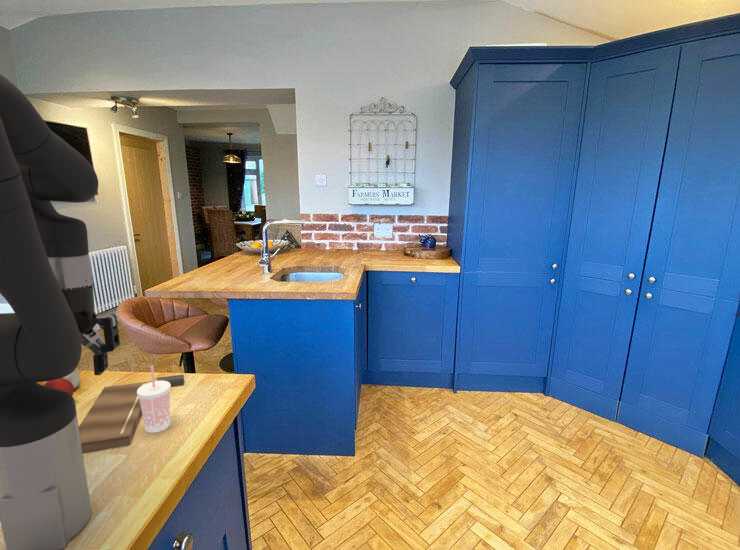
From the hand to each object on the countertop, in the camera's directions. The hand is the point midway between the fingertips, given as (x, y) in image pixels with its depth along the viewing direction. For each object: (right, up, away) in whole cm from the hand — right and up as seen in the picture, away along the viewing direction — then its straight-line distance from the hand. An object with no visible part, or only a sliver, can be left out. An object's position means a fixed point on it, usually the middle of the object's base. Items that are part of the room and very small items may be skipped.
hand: (71, 374), depth 61 cm
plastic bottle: (-24, -12, +27) cm, 38 cm away
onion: (-20, -13, +20) cm, 31 cm away
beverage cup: (+6, -16, +15) cm, 23 cm away
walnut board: (-2, -14, +20) cm, 24 cm away
